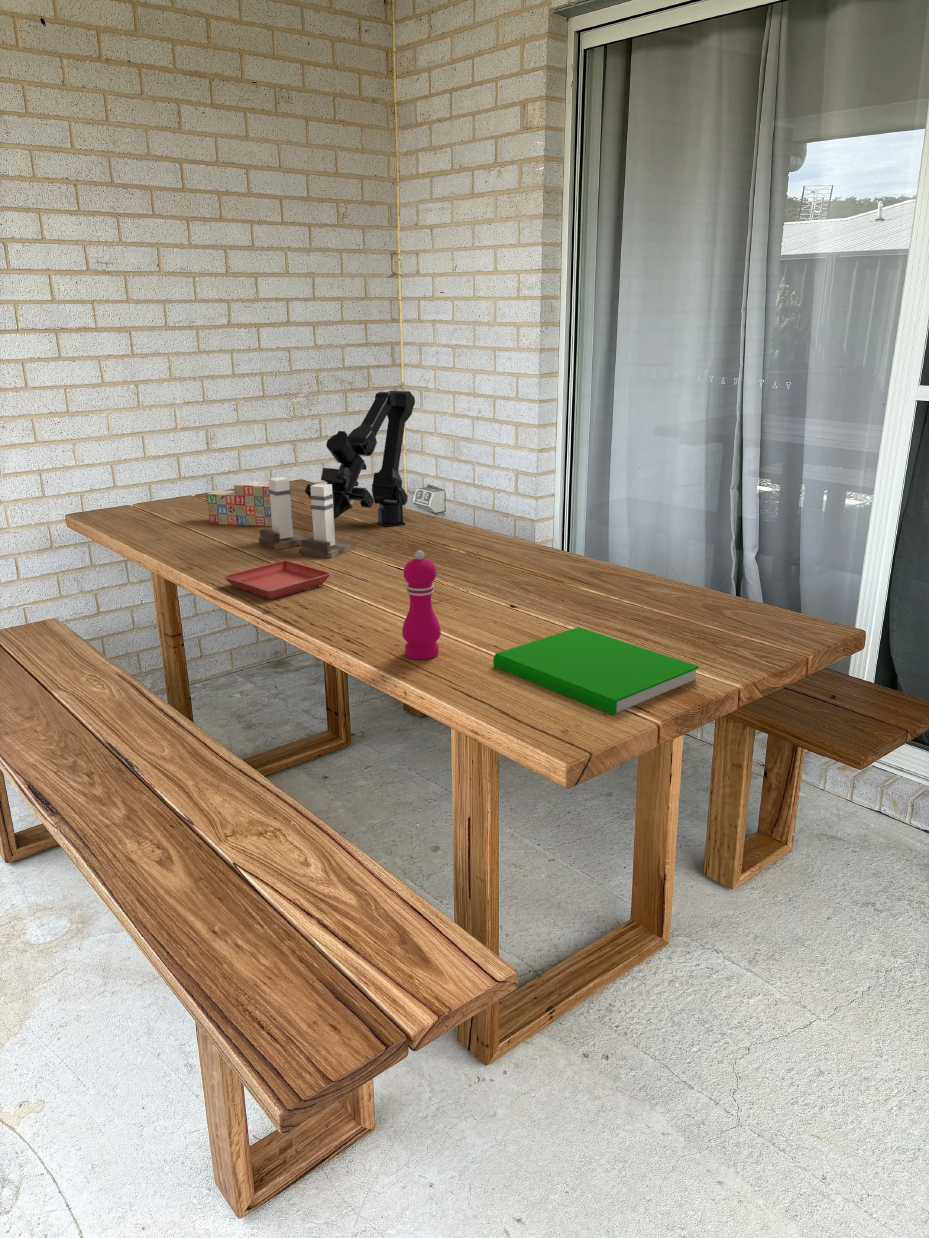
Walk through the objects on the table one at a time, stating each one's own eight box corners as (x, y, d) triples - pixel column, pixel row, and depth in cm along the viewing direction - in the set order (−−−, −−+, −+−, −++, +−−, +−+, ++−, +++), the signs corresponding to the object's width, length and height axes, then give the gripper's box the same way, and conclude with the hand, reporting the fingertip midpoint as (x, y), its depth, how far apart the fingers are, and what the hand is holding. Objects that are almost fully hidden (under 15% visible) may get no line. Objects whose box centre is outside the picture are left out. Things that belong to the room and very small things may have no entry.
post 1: (286, 534, 259) (282, 476, 254) (293, 536, 256) (289, 478, 251) (272, 536, 257) (267, 478, 252) (279, 539, 254) (275, 480, 249)
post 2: (322, 542, 250) (318, 483, 245) (336, 544, 248) (332, 484, 243) (313, 546, 246) (309, 486, 241) (327, 547, 244) (323, 487, 239)
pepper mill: (402, 647, 179) (399, 546, 172) (440, 646, 179) (438, 545, 173) (403, 661, 172) (399, 556, 165) (442, 660, 172) (440, 555, 166)
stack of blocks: (208, 524, 281) (204, 483, 277) (218, 519, 287) (214, 480, 283) (275, 527, 277) (272, 486, 273) (283, 522, 282) (280, 482, 279)
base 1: (297, 536, 265) (296, 522, 264) (315, 542, 258) (314, 528, 256) (259, 543, 258) (258, 528, 257) (276, 549, 251) (275, 535, 249)
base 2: (323, 544, 256) (323, 530, 255) (355, 547, 252) (354, 533, 251) (298, 554, 246) (297, 539, 244) (331, 558, 242) (330, 543, 240)
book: (578, 641, 183) (578, 626, 182) (697, 682, 163) (699, 666, 162) (493, 669, 169) (493, 654, 168) (612, 718, 149) (613, 701, 148)
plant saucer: (270, 604, 207) (268, 590, 206) (223, 588, 218) (222, 575, 217) (333, 586, 219) (332, 573, 218) (286, 572, 231) (285, 559, 230)
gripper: (306, 453, 250) (284, 502, 244) (366, 457, 243) (345, 507, 237) (323, 478, 259) (303, 525, 254) (382, 482, 252) (363, 531, 246)
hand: (328, 521), depth 247 cm, fingers closed
